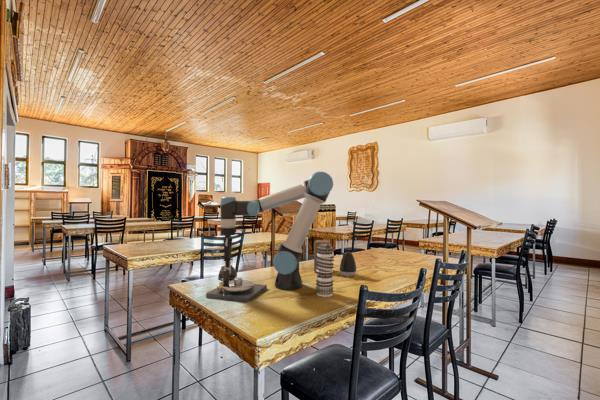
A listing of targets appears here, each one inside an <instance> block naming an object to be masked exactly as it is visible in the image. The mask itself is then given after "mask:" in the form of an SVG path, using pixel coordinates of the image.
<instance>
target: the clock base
mask: <svg viewBox="0 0 600 400" xmlns="http://www.w3.org/2000/svg"><path fill="white" fill-rule="evenodd" d="M218 282H219V283H218V286H219V290H216V288H214V289H211V290H210V291H208V292H206V293H205V298H207V299H208V298H209V299H218V300H225V301H233V302H234V301H235V302H241V303H249V302H250V301H251V300H253V299H254V298H256V297H257V296H259V295H260V294H261V293H263V292H264V291H266V290H267V289H268V285H267V284H260V283H254V288H253V289H251V290H248V291H243V292H228V291H224V290H223V281H218Z"/></svg>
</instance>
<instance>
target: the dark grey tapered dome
mask: <svg viewBox="0 0 600 400" xmlns="http://www.w3.org/2000/svg"><path fill="white" fill-rule="evenodd" d="M340 255H342V258H341V260H340V263H339V271H340V274H341V275H342V276H343V277H345V278H352V277H353V276H355V274H356V272H357V265H356V264H357V263H356V259H355V257H354V255H353V253H352V252H351V251H345V252H342V251H340Z"/></svg>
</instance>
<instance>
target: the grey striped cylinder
mask: <svg viewBox="0 0 600 400" xmlns="http://www.w3.org/2000/svg"><path fill="white" fill-rule="evenodd" d="M319 244H330V245H331V241H330V240H328V239H327V240H326V239H324V240H323V239H316V240H315V241H314V243H313V246H314V247H313V250H314V251H313V272H314V273H317V271H316V270H317V269H316V266H317V265H316V259H317V258H316V255H317V253H318V251H317V250H318V248H317V247H318V246H319ZM317 264H318V263H317Z"/></svg>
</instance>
